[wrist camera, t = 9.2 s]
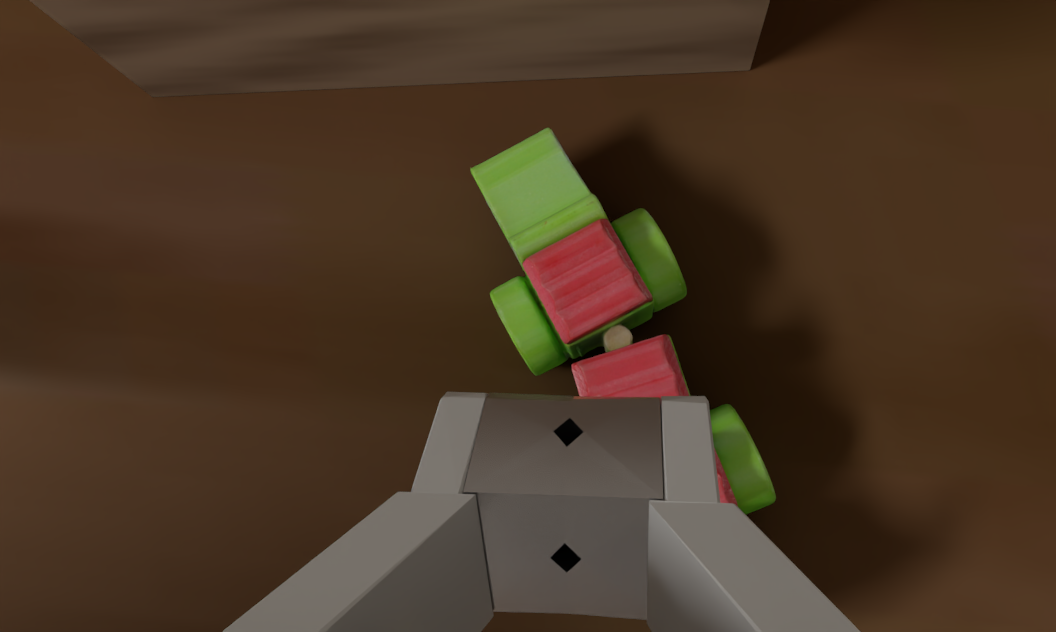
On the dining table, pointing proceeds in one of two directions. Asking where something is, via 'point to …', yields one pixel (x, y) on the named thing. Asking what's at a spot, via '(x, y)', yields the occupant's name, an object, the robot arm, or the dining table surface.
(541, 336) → the toy crocodile
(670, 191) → the dining table surface
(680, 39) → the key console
